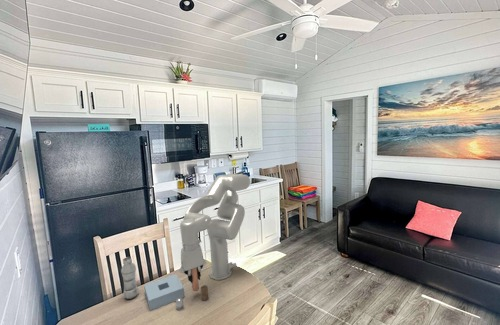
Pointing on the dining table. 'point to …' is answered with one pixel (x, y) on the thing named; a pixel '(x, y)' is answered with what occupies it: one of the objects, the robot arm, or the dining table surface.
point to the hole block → (163, 291)
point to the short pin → (179, 303)
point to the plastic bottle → (129, 278)
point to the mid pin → (204, 293)
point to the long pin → (195, 279)
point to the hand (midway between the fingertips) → (194, 279)
